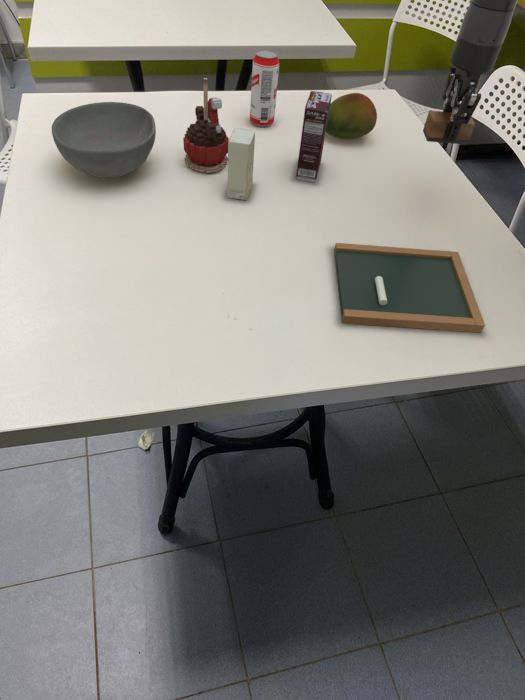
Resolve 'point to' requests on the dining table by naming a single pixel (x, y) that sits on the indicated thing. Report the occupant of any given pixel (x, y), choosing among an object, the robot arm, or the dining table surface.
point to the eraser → (438, 126)
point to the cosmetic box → (240, 163)
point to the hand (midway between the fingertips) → (446, 134)
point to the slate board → (405, 288)
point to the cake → (206, 137)
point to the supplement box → (313, 135)
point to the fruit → (351, 116)
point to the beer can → (264, 87)
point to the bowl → (105, 137)
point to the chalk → (380, 290)
